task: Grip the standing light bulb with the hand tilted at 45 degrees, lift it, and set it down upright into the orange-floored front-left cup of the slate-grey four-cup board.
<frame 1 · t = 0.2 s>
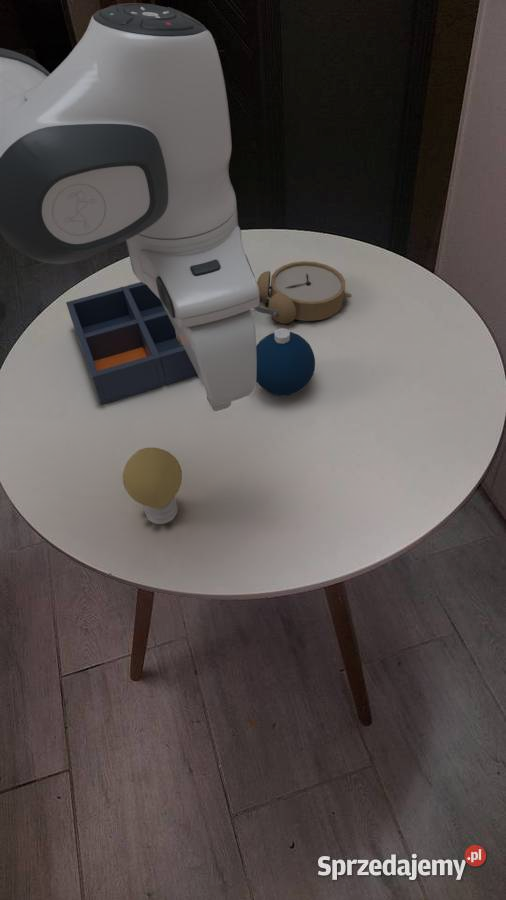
hand: (203, 372, 64), 21 cm above the table, tool pointing down, fingers open, 8 cm apart
light bulb: (162, 514, 80), on the table
cup board: (146, 347, 100), on the table
alarm clock: (296, 305, 105), on the table
christmas ornament: (283, 387, 93), on the table
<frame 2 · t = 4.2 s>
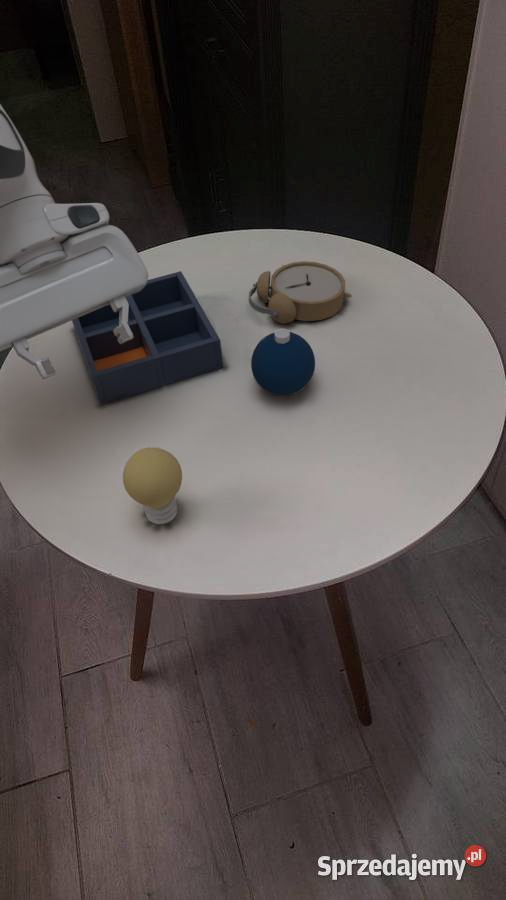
hand: (89, 358, 75), 16 cm above the table, tool tilted 45°, fingers open, 8 cm apart
nothing on the table moved.
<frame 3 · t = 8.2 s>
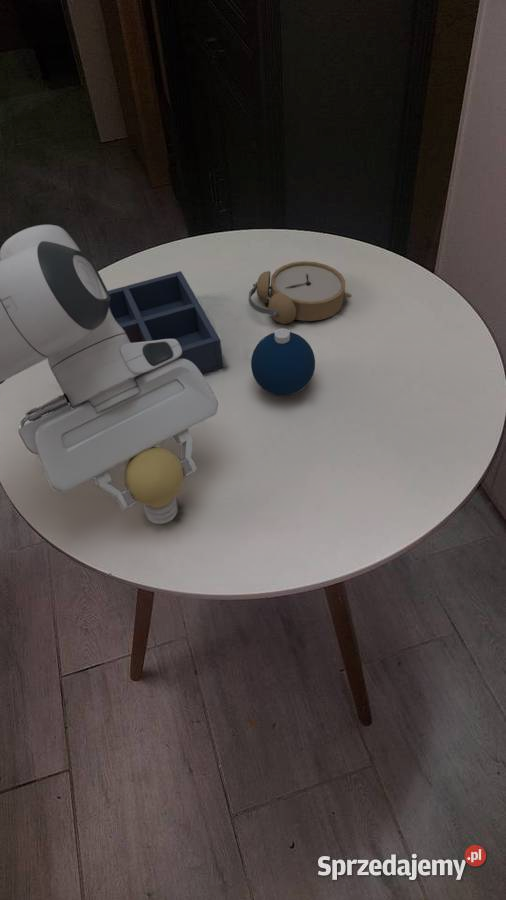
hand: (160, 489, 75), 5 cm above the table, tool tilted 45°, fingers closed on light bulb, 6 cm apart
light bulb: (162, 514, 80), on the table, touching gripper
everything else where it was.
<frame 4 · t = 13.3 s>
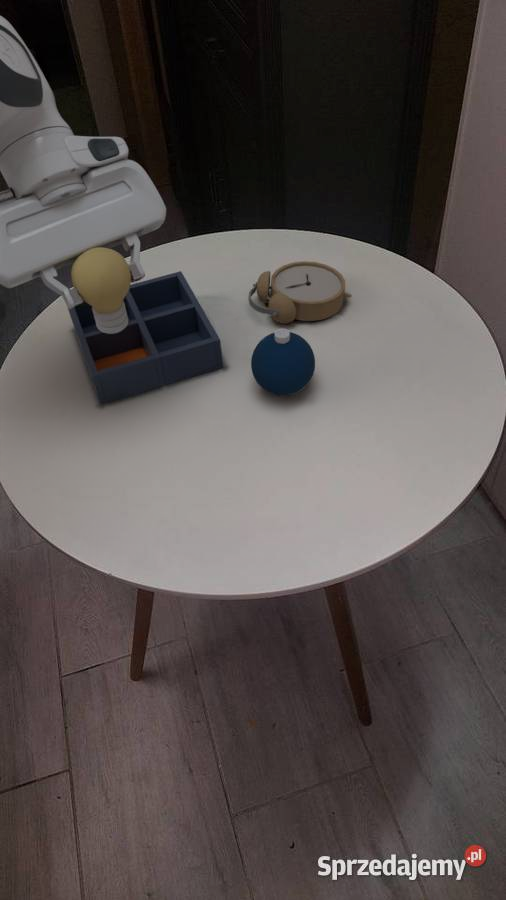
hand: (108, 292, 76), 20 cm above the table, tool tilted 45°, fingers closed on light bulb, 6 cm apart
light bulb: (113, 328, 81), point 14 cm above the table, touching gripper
everything else where it was.
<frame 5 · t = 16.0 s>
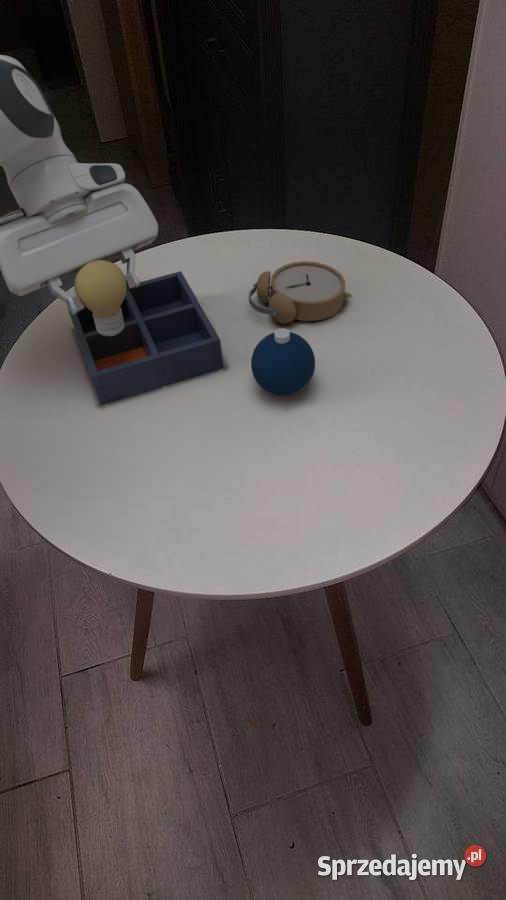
hand: (107, 299, 86), 13 cm above the table, tool tilted 45°, fingers closed on light bulb, 6 cm apart
light bulb: (111, 331, 91), point 8 cm above the table, touching gripper
everything else where it was.
when the fingers open (6 cm above the table, at t = 18.5 s): light bulb stays where it is, resting on cup board.
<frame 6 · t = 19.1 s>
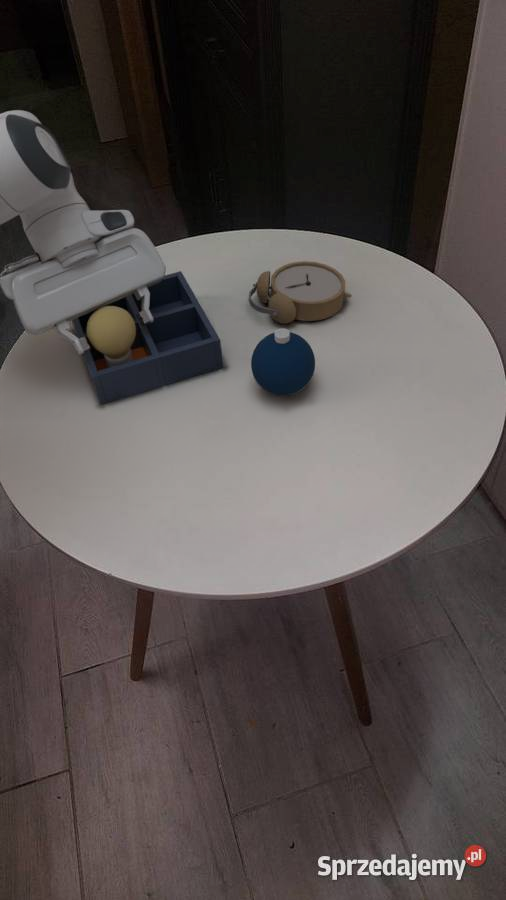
hand: (117, 337, 91), 7 cm above the table, tool tilted 45°, fingers open, 8 cm apart
light bulb: (122, 370, 96), point 1 cm above the table, touching cup board
everything else where it was.
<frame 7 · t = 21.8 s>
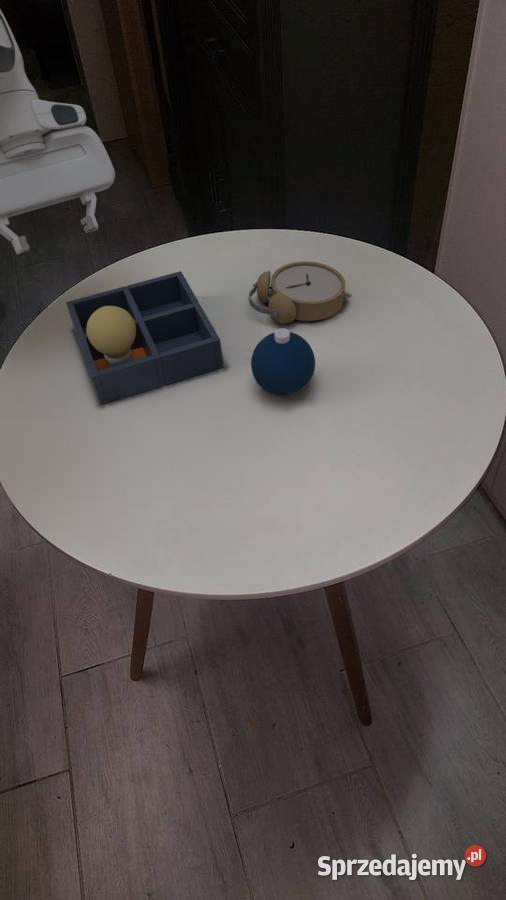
hand: (58, 241, 87), 18 cm above the table, tool tilted 35°, fingers open, 8 cm apart
nothing on the table moved.
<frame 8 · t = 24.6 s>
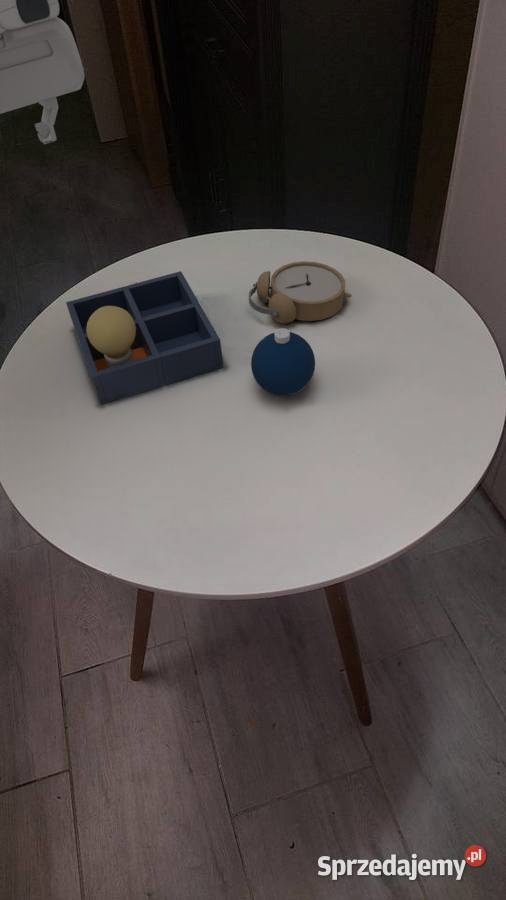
hand: (8, 154, 74), 31 cm above the table, tool pointing down, fingers open, 8 cm apart
nothing on the table moved.
at the end: light bulb 0.4 cm from the target spot in the cup board, point 0.6 cm above the cup board's base; light bulb tilted 0°; the gripper is holding nothing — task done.
